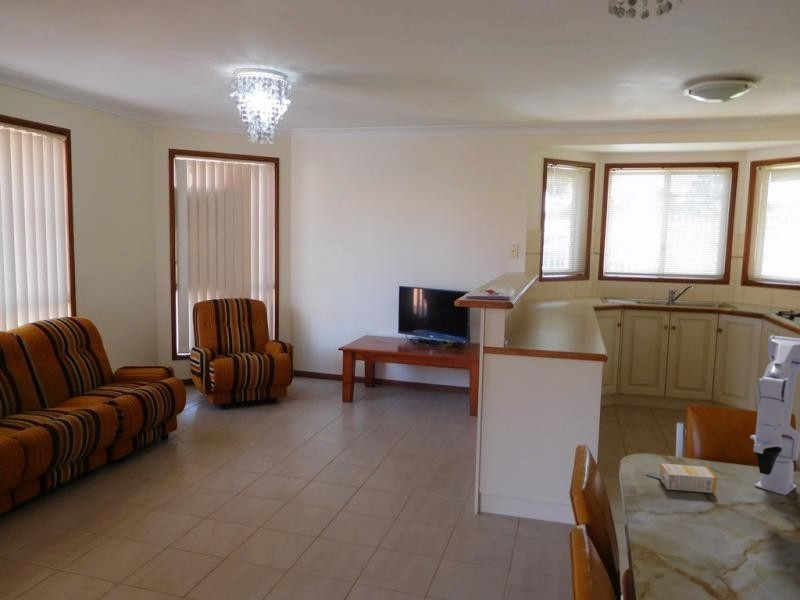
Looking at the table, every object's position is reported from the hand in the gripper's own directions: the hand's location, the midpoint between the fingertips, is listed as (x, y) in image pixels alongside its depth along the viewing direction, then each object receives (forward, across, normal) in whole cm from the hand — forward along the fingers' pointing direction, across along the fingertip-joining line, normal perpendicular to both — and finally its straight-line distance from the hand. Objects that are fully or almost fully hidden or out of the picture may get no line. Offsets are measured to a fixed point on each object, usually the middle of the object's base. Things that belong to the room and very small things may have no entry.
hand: (765, 473), depth 155 cm
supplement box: (+8, -4, -14) cm, 17 cm away
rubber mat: (+10, -6, -25) cm, 28 cm away
